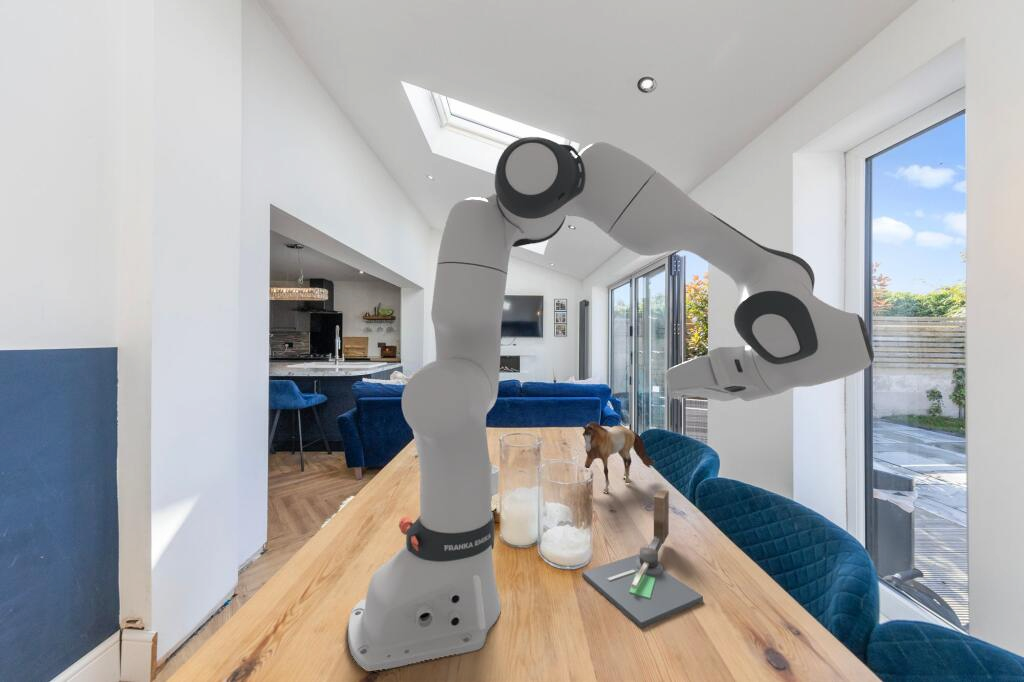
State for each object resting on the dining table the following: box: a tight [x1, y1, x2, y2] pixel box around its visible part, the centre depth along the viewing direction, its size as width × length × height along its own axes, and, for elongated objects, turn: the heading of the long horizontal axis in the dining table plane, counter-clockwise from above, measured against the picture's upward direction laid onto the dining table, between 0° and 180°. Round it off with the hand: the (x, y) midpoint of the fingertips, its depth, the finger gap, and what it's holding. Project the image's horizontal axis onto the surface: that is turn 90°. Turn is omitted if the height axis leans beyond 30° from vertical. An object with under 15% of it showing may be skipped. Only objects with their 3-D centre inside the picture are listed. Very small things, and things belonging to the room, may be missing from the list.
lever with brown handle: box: [632, 488, 670, 589], centre depth 72 cm, size 22×3×10 cm, turn 146°
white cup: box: [491, 464, 500, 501], centre depth 97 cm, size 8×8×10 cm
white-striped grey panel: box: [581, 553, 704, 629], centre depth 66 cm, size 14×14×1 cm
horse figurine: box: [582, 421, 656, 493], centre depth 113 cm, size 31×8×21 cm, turn 127°
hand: (672, 394), depth 73 cm, fingers closed
